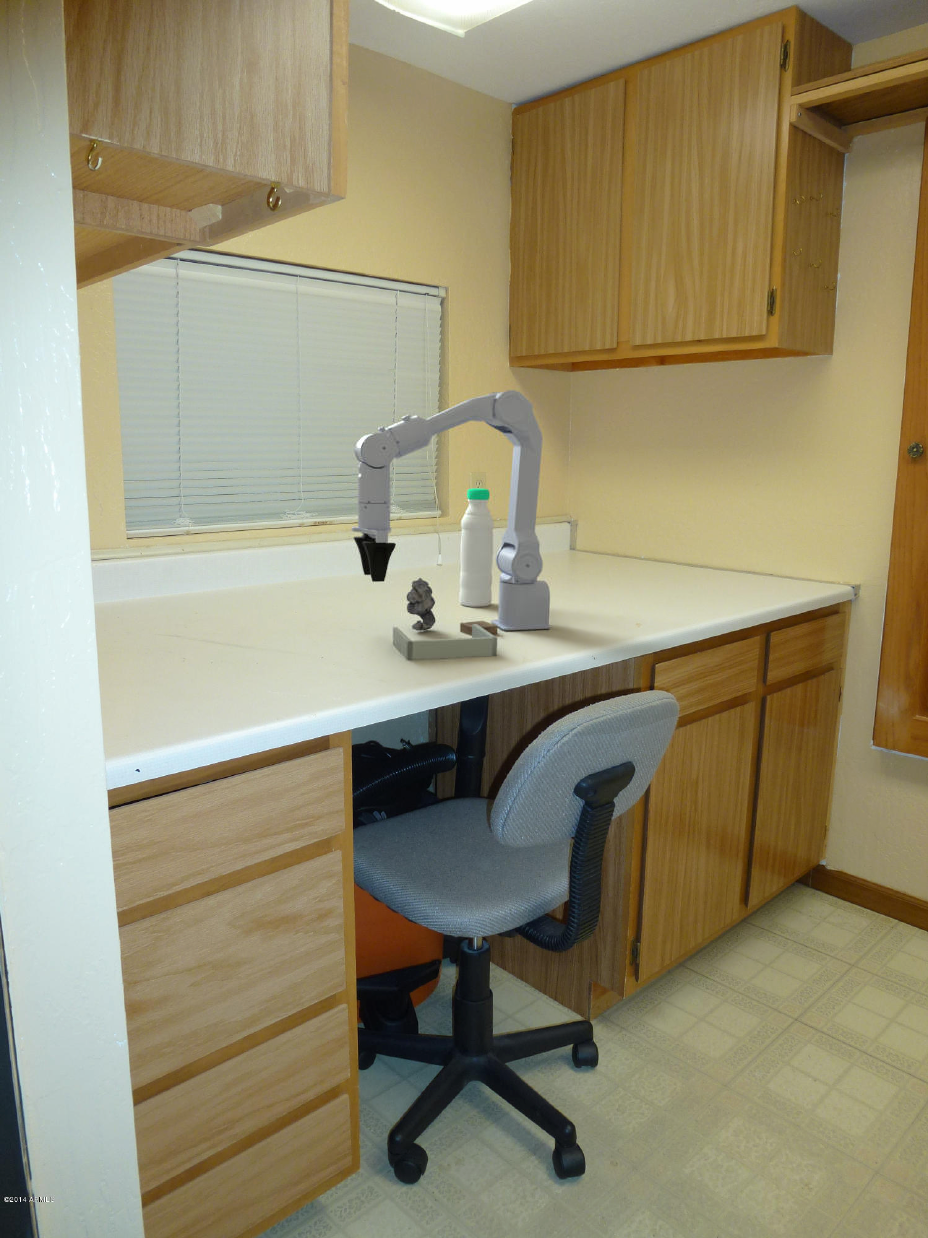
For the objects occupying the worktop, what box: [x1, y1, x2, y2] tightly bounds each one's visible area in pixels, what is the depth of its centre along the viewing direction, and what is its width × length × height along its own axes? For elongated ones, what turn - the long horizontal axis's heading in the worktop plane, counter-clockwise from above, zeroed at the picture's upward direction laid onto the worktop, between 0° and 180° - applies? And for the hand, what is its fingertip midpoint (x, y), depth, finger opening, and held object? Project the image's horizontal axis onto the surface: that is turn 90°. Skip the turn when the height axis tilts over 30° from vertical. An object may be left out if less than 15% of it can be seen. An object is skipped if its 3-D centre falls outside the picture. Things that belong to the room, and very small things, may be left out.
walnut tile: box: [459, 620, 499, 637], centre depth 161 cm, size 5×5×2 cm
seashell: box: [406, 577, 436, 632], centre depth 161 cm, size 5×5×10 cm
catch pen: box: [392, 624, 498, 661], centre depth 147 cm, size 15×11×3 cm
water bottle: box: [458, 487, 495, 608], centre depth 186 cm, size 7×7×25 cm
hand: (373, 577), depth 157 cm, fingers open, 7 cm apart
